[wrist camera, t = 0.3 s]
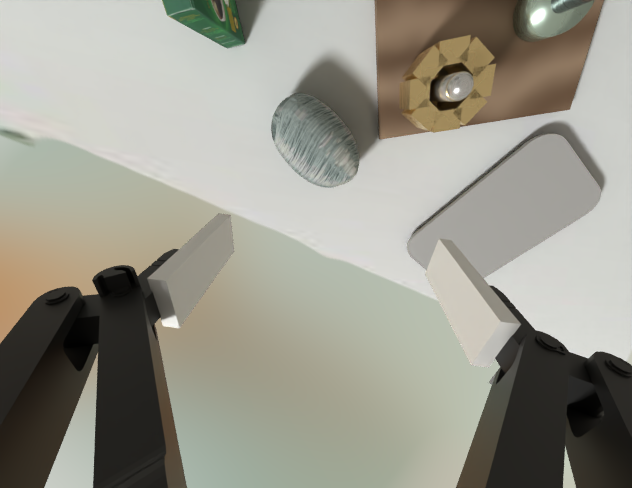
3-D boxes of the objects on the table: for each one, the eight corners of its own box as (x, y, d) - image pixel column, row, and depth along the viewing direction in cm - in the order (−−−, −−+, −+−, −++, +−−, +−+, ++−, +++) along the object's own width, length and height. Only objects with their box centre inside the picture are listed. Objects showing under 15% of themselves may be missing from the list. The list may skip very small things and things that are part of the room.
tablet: (397, 241, 45) (400, 247, 43) (541, 121, 34) (554, 122, 32) (451, 287, 50) (456, 295, 48) (595, 195, 38) (609, 200, 36)
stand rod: (402, 67, 31) (432, 52, 21) (453, 57, 30) (508, 36, 20) (402, 120, 34) (427, 127, 24) (448, 112, 33) (494, 117, 23)
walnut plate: (374, -8, 28) (376, -13, 27) (612, -67, 25) (627, -76, 24) (378, 138, 36) (380, 139, 35) (560, 109, 33) (569, 109, 31)
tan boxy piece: (399, 55, 28) (410, 47, 23) (475, 40, 27) (501, 28, 22) (399, 131, 32) (408, 136, 27) (465, 121, 30) (485, 124, 26)
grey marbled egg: (248, 133, 34) (266, 129, 26) (292, 83, 35) (323, 62, 26) (311, 196, 42) (340, 208, 33) (346, 154, 42) (384, 156, 34)
